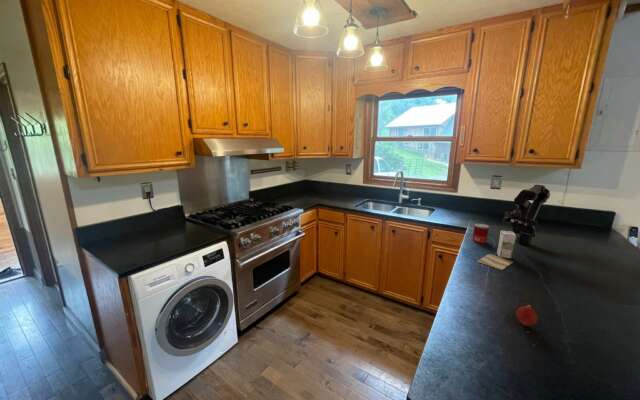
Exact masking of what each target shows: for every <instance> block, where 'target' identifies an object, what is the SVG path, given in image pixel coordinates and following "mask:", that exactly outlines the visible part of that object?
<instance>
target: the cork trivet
mask: <svg viewBox="0 0 640 400" xmlns="http://www.w3.org/2000/svg"><path fill="white" fill-rule="evenodd" d="M476 262H477V263H480V264H481V263H482V265H484V264H485V266H487V265H488V266H487V267H490V268H493V267H494V268H493V269H495V270H499V271H501V270H502V271H503V270H505V269H507V267H509V266H510V265H511V264H513V263H514V261H512V260H510V259H508V258H502V257H499V256H498V255H495V254H491V253H488V254H486V255H484V256H483V257H481V258H479V259H478V260H476Z"/></svg>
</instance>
